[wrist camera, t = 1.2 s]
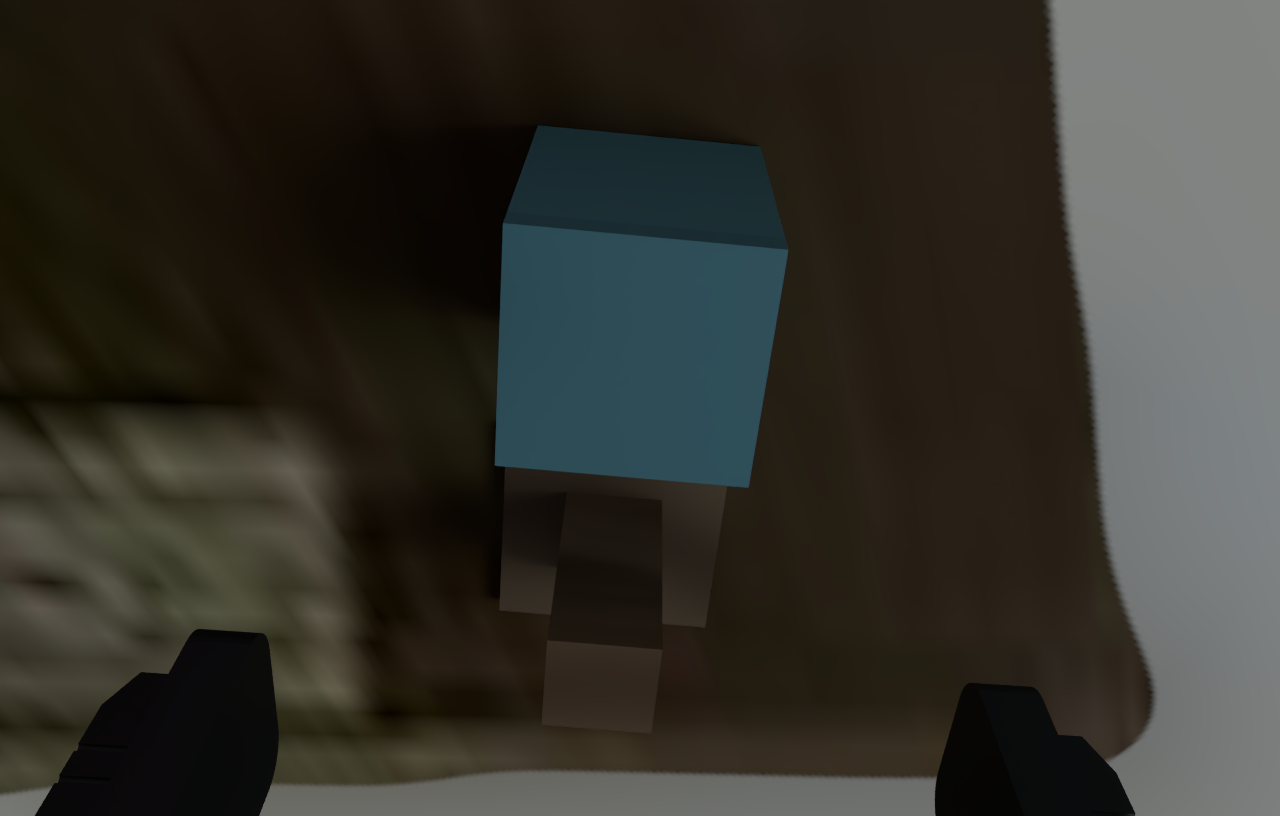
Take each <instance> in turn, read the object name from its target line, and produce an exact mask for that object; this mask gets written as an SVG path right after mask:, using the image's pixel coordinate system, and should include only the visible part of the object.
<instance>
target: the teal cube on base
mask: <svg viewBox="0 0 1280 816" xmlns="http://www.w3.org/2000/svg"><path fill="white" fill-rule="evenodd" d="M787 255H788V247H787V243H786V239H785V236H784V232H783V228H782V225H781V221H780V217H779V214H778V210H777V206H776V203H775V199H774V196H773V192H772V188H771V185H770V181H769V177H768V174H767V170H766V166H765V163H764V159H763V155H762V152H761V148H760V147H758V146H748V145H737V144H727V143H716V142H706V141H696V140H685V139H675V138H665V137H654V136H644V135H633V134H623V133H613V132H602V131H592V130H582V129H571V128H561V127H550V126H540V125H538V127H537V130H536V132H535V135H534V138H533V141H532V144H531V146H530V149H529V152H528V155H527V158H526V160H525V163H524V166H523V169H522V171H521V174H520V177H519V180H518V183H517V185H516V188H515V191H514V194H513V197H512V199H511V202H510V205H509V208H508V211H507V213H506V216H505V219H504V222H503V238H502V267H501V297H500V326H499V356H498V385H497V415H496V444H495V466H505V467H517V468H528V469H540V470H551V471H563V472H574V473H586V474H597V475H609V476H620V477H632V478H643V479H655V480H666V481H678V482H689V483H701V484H713V485H724V486H736V487H747V488H748V487H749V481H750V475H751V469H752V464H753V458H754V452H755V446H756V440H757V434H758V428H759V422H760V416H761V410H762V404H763V398H764V392H765V386H766V380H767V374H768V368H769V362H770V356H771V350H772V344H773V338H774V332H775V326H776V321H777V315H778V309H779V303H780V297H781V291H782V285H783V279H784V273H785V267H786V261H787Z"/></svg>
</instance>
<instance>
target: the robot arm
mask: <svg viewBox="0 0 1280 816" xmlns="http://www.w3.org/2000/svg"><path fill="white" fill-rule="evenodd" d="M278 741H279V731H278V721H277V712H276V703H275V694H274V685H273V676H272V667H271V658H270V649H269V643H268V640H267V637H266V636H265V635H264V634H263V633H251V632H236V631H221V630H206V629H197V630H195V631H194V632H193V633H192V634H191V635H190V636H189V638H188V640H187V641H186V643H185V645H184V647H183V648H182V650H181V652H180V654H179V656H178V658H177V659H176V661H175V663H174V665H173V667H172V669H171V670H170V672H169V674H160V673H145V672H141V673H139V674H138V675H137V676H136V677H135V678H133V679H132V680H131V681H130V682H129V683H127V684H126V685H125V686H124V687H123V688H121V689H120V690H119V691H118V692H117V693H115V694H114V695H113V696H112V697H110V698H109V699H108V700H107V701H106V702H104V703H103V704H102V705H101V707H100V709H99V710H98V712H97V714H96V715H95V717H94V719H93V720H92V722H91V723H90V725H89V727H88V728H87V730H86V732H85V733H84V735H83V737H82V738H81V740H80V742H79V747H78V750H77V751H74V752H73V753H72V755H71V757H70V758H69V760H68V762H67V763H66V765H65V767H64V768H63V770H62V772H61V773H60V775H59V776H60V778H59V782H58V783H54V785H53V786H52V788H51V790H50V791H49V793H48V795H47V796H46V798H45V800H44V801H43V803H42V805H41V806H40V808H39V810H38V811H37V813H36V815H35V816H259V815H260V812H261V809H262V807H263V804H264V802H265V799H266V796H267V794H268V791H269V789H270V786H271V783H272V779H273V775H274V771H275V766H276V761H277V754H278ZM935 814H936V816H1135V812H1134V810H1133V807H1132V805H1131V804H1130V801H1129V799H1128V797H1127V795H1126V793H1125V790H1124V788H1123V786H1122V784H1121V782H1120V780H1119V778H1118V775H1117V773H1116V772H1115V771H1114V770H1113V769H1112V768H1111V767H1110V766H1109V765H1108V764H1107V763H1106V762H1105V760H1104V759H1103V758H1102V757H1101V756H1100V755H1099V754H1098V753H1097V752H1096V751H1095V750H1094V749H1093V748H1092V747H1091V746H1090V745H1089V744H1088V742H1087V741H1086V740H1085V739H1084V738H1083V737H1082V736H1066V735H1058V734H1057V731H1056V729H1055V727H1054V724H1053V722H1052V719H1051V717H1050V715H1049V712H1048V710H1047V708H1046V705H1045V703H1044V701H1043V699H1042V697H1041V695H1040V693H1039V692H1038V690H1036V689H1035V688H1033V687H1025V686H1010V685H995V684H980V683H968V684H967V685H966V686H965V687H964V688H963V690H962V693H961V696H960V699H959V702H958V706H957V709H956V712H955V716H954V719H953V723H952V726H951V730H950V733H949V737H948V740H947V744H946V747H945V750H944V754H943V757H942V761H941V764H940V768H939V771H938V775H937V780H936V788H935Z"/></svg>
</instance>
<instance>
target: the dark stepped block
mask: <svg viewBox="0 0 1280 816" xmlns="http://www.w3.org/2000/svg"><path fill="white" fill-rule="evenodd" d="M726 491H727V486H724V485H713V484H701V483H689V482H678V481H666V480H655V479H643V478H632V477H620V476H609V475H597V474H586V473H574V472H563V471H551V470H540V469H528V468H517V467H505V483H504V508H503V534H502V559H501V584H500V610H501V611H514V612H526V613H538V614H550V615H551V616H550V624H549V631H548V639H547V652H546V667H545V682H544V697H543V712H542V725H551V726H564V727H576V728H589V729H602V730H614V731H627V732H639V733H651V732H652V724H653V717H654V709H655V702H656V694H657V687H658V679H659V672H660V664H661V657H662V624H671V625H683V626H695V627H705V625H706V618H707V612H708V606H709V599H710V593H711V586H712V580H713V574H714V567H715V561H716V555H717V548H718V542H719V535H720V529H721V523H722V516H723V510H724V503H725V497H726Z"/></svg>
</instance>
